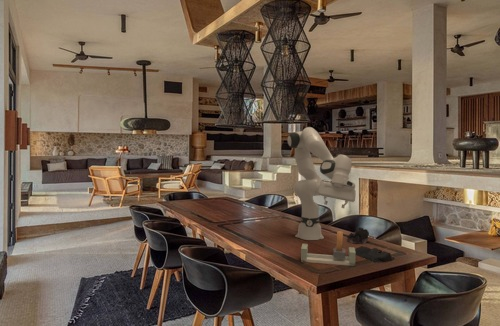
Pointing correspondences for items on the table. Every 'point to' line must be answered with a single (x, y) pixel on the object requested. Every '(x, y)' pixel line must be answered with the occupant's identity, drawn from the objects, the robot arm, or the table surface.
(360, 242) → the crystal cluster
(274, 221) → the table surface
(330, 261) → the rail base
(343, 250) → the carriage
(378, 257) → the dark flat rock slab
